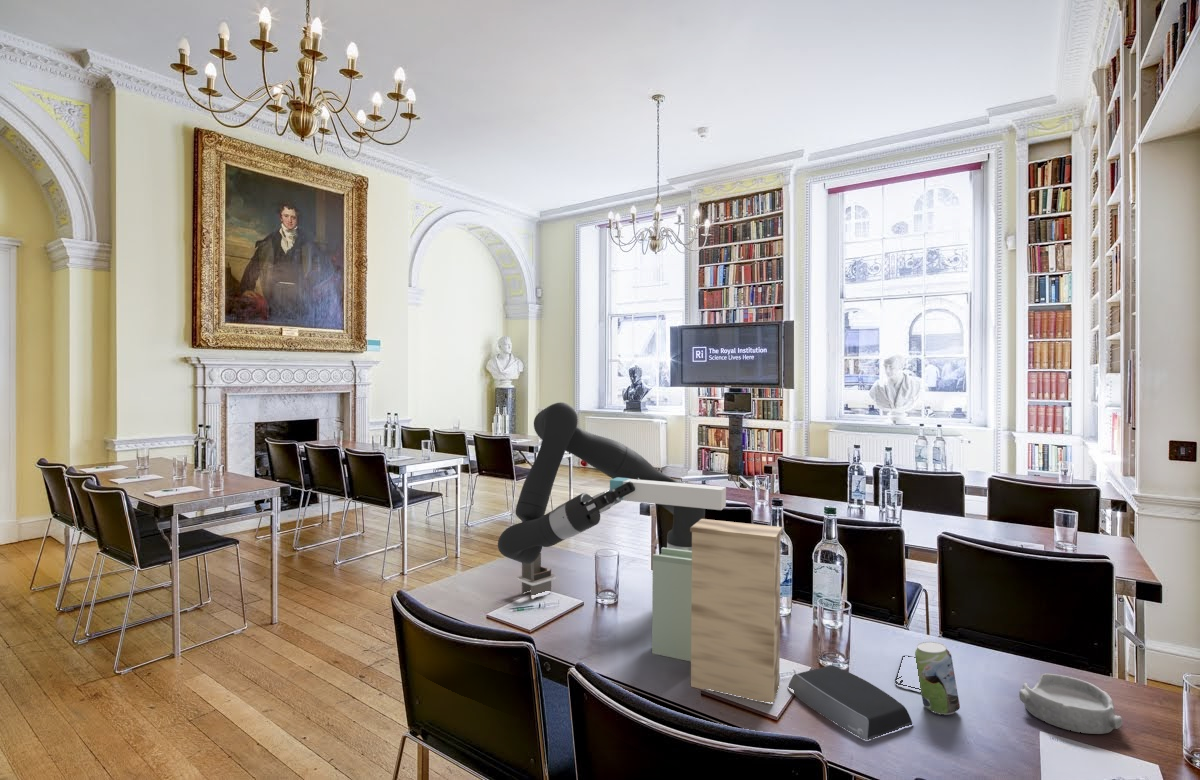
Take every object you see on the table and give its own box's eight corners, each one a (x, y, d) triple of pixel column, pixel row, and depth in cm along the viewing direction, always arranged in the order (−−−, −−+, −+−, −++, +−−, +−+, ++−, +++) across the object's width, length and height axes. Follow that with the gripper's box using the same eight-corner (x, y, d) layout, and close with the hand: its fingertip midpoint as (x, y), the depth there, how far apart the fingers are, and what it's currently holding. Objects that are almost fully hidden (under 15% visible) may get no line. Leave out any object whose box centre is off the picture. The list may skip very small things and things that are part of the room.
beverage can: (965, 721, 108) (965, 655, 107) (920, 716, 109) (921, 651, 109) (951, 702, 114) (952, 640, 114) (910, 698, 115) (910, 637, 115)
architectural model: (542, 581, 184) (542, 545, 183) (580, 595, 172) (580, 556, 172) (492, 596, 170) (493, 557, 170) (530, 612, 159) (530, 571, 158)
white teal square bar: (617, 495, 131) (617, 477, 131) (725, 506, 121) (726, 486, 121) (609, 499, 127) (609, 480, 127) (721, 510, 117) (721, 489, 117)
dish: (1016, 718, 109) (1016, 690, 109) (1026, 689, 119) (1026, 664, 119) (1121, 750, 99) (1121, 721, 99) (1122, 716, 110) (1122, 689, 110)
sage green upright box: (662, 641, 140) (662, 547, 140) (712, 651, 135) (713, 553, 135) (652, 653, 134) (652, 555, 134) (704, 664, 129) (705, 562, 129)
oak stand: (700, 668, 127) (701, 518, 127) (781, 685, 120) (782, 527, 120) (689, 687, 119) (690, 527, 119) (774, 706, 112) (775, 537, 112)
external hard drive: (862, 746, 101) (863, 722, 101) (784, 692, 119) (784, 671, 119) (916, 728, 106) (916, 705, 106) (833, 679, 124) (833, 659, 124)
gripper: (551, 507, 128) (616, 472, 121) (581, 495, 140) (640, 463, 134) (567, 539, 126) (632, 506, 120) (595, 525, 139) (656, 494, 133)
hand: (636, 484), depth 127 cm, fingers closed on white teal square bar, 4 cm apart
